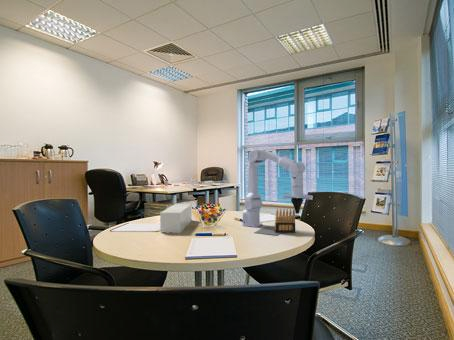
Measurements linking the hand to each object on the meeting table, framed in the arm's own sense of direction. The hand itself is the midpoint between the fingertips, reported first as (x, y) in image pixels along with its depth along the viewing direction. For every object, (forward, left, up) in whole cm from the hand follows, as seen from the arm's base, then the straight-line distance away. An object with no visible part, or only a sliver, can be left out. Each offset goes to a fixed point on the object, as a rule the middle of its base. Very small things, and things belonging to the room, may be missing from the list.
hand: (297, 213), depth 130 cm
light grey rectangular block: (-67, -13, -11) cm, 69 cm away
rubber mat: (-14, 0, -10) cm, 17 cm away
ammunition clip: (-7, 0, -10) cm, 12 cm away
